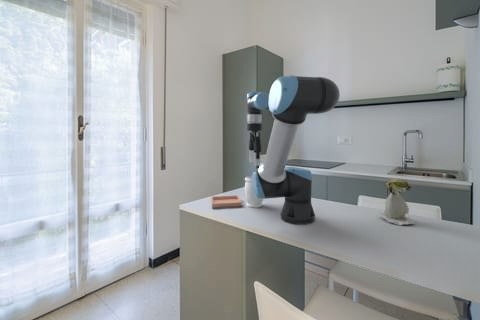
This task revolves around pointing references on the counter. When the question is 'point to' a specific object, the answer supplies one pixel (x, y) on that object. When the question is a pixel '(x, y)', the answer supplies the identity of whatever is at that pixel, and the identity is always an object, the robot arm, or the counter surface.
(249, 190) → the jar
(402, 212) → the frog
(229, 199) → the tray
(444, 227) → the counter surface
